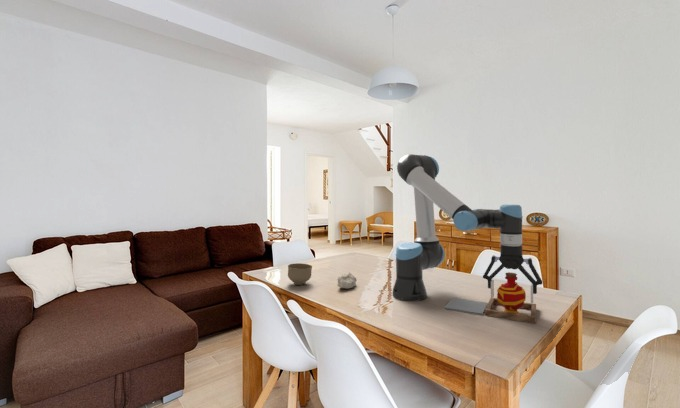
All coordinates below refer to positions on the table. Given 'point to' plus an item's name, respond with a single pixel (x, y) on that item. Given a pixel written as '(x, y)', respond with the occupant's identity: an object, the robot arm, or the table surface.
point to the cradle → (511, 315)
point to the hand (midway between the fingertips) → (511, 299)
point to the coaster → (466, 306)
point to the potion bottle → (511, 294)
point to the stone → (346, 281)
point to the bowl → (299, 273)
